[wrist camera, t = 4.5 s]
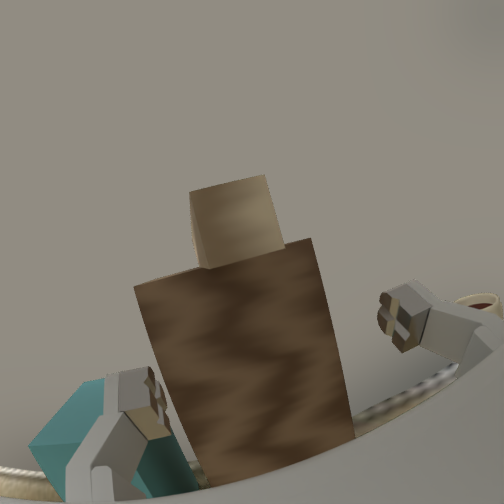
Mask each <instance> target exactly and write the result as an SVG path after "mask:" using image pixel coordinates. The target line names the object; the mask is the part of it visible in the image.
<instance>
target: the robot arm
mask: <svg viewBox="0 0 504 504" xmlns="http://www.w3.org/2000/svg"><path fill="white" fill-rule="evenodd" d="M379 301H380V303H381V304H382V306H381V307H380V309H379V310H378V315H377V320H378V324H379V326H380V328H381V330H382V331H383V332H384V333H385V334H386V335H389V336H392V343H393V344H394V345H395V346H396V347H397V348H398V349H399V351H401V353H404V352H406V351H408V350H410V349H412V348H414V347H416V346H418V345H420V346H421V347H423V348H425V349H428V350H430V351H432V352H434V353H436V354H438V355H441V356H443V357H445V358H447V359H450V360H452V361H454V362H456V363H458V364H459V366H458V368H457V370H456V372H455V377H456V378H457V380H455V381H454V382H452V383H451V384H450V385H448V386H447V387H445V388H444V389H442V390H441V391H439V392H438V393H436V394H435V395H433V396H431V397H430V398H428V399H427V400H425V401H423V402H422V403H420V404H419V405H417V406H415V407H414V408H412V409H410V410H408V411H407V412H405V413H403V414H402V415H400V416H398V417H396V418H394V419H393V420H391V421H389V422H387V423H385V424H383V425H381V426H379V427H377V428H376V429H374V430H372V431H370V432H368V433H366V434H364V435H361V436H359V437H357V438H355V439H353V440H351V441H349V442H347V443H344V444H342V445H340V446H338V447H335V448H333V449H331V450H328V451H326V452H323V453H321V454H319V455H316V456H314V457H311V458H308V459H306V460H303V461H300V462H298V463H295V464H292V465H289V466H287V467H284V468H281V469H278V470H275V471H272V472H268V473H265V474H262V475H259V476H255V477H252V478H248V479H245V480H241V481H237V482H233V483H230V484H226V485H221V486H217V487H213V488H208V489H203V490H198V491H193V492H188V493H182V494H176V495H170V496H163V497H156V498H148V499H146V494H144V493H143V492H142V491H140V490H139V489H138V488H136V487H135V486H133V485H132V484H131V481H132V479H133V476H134V474H135V472H136V469H137V467H138V464H139V462H140V460H141V457H142V455H143V453H144V450H145V448H146V446H147V443H148V441H147V440H152V439H157V438H161V437H166V436H170V435H172V434H171V428H170V423H169V418H168V416H167V415H166V413H165V411H166V409H167V402H166V398H165V395H164V391H163V389H162V386H161V385H160V383H159V382H158V381H156V380H155V376H154V372H153V370H152V369H151V367H149V366H148V367H143V368H138V369H133V370H128V371H122V372H118V373H113V374H107V375H106V377H105V382H104V408H103V415H101V416H99V417H98V419H97V420H96V422H95V423H94V425H93V426H92V428H91V429H90V431H89V432H88V434H87V435H86V437H85V438H84V440H83V441H82V443H81V444H80V446H79V447H78V449H77V451H76V452H75V454H74V455H73V457H72V458H71V460H70V461H69V463H68V464H67V466H66V482H65V489H66V502H49V501H35V500H25V499H16V498H9V497H2V496H0V504H504V321H503V320H502V319H501V318H500V317H498V316H497V315H496V314H493V313H490V312H486V311H483V310H479V309H475V308H472V307H468V306H464V305H461V304H457V303H453V302H450V301H446V300H445V301H441V300H440V299H439V298H438V297H437V296H436V295H434V294H433V293H432V292H431V291H430V290H429V289H427V288H426V287H425V286H423V284H421V283H420V282H419V281H417V280H414V279H413V280H411V281H409V282H406V283H404V284H402V285H399V286H397V287H395V288H392V289H390V290H387V291H385V292H382V294H381V296H380V300H379Z"/></svg>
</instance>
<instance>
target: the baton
mask: <svg viewBox="0 0 504 504" xmlns="http://www.w3.org/2000/svg"><path fill="white" fill-rule="evenodd" d="M189 194H190V214H191V229H192V242H193V245H194V249H195V253H196V257H197V260H198V264H199V267H202V268H206V269H213V268H216V267H220V266H223V265H227V264H231V263H234V262H238V261H241V260H245V259H249V258H252V257H256V256H259V255H263V254H266V253H270V252H274V251H277V250H281V249H284V248H285V245H284V242H283V238H282V234H281V231H280V227H279V224H278V220H277V217H276V213H275V209H274V206H273V202H272V199H271V195H270V192H269V188H268V185H267V181H266V178H265V175H259V176H255V177H250V178H246V179H241V180H237V181H232V182H228V183H224V184H220V185H216V186H211V187H208V188H203V189H200V190H195V191H191V192H189Z"/></svg>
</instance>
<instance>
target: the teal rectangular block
mask: <svg viewBox="0 0 504 504" xmlns="http://www.w3.org/2000/svg"><path fill="white" fill-rule="evenodd" d="M104 382H105V378H103V379H98V380H93V381H88V382H84V383H83V384H82V385H81V386H80V387H79V388H78V390H77V391H76V392H75V393H74V394H73V395H72V396H71V397H70V398H69V399H68V401H67V402H66V403H65V404H64V405H63V406H62V407H61V409H60V410H59V411H58V412H57V413H56V414H55V415H54V416H53V418H52V419H51V420H50V421H49V422H48V423H47V424H46V426H45V427H44V428H43V429H42V430H41V431H40V432H39V434H38V435H37V436H36V437H35V438H34V440H33V441H32V442H31V443H30V444H29V445H28V447H29V449H30V450H31V452H32V454H33V456H34V457H35V459H36V461H37V462H38V464H39V466H40V467H41V469H42V470H43V472H44V474H45V475H46V477H47V478H48V480H49V481H50V483H51V484H52V486H53V487H54V489H55V490H56V492H57V493H58V495H59V496H60V497H61V499H62V500H63V501H64V502H66V489H65V482H66V466H67V464H68V463H69V461H70V460H71V458H72V457H73V455H74V454H75V452H76V451H77V449H78V447H79V446H80V444H81V443H82V441H83V440H84V438H85V437H86V435H87V434H88V432H89V431H90V429H91V428H92V426H93V425H94V423H95V422H96V420H97V419H98V417H99V416H101V415H103V408H104ZM170 428H171V426H170ZM171 434H172V435H170V436H166V437H161V438H157V439H152V440H147V441H148V443H147V446H146V448H145V450H144V453H143V455H142V457H141V460H140V462H139V464H138V467H137V469H136V472H135V474H134V476H133V479H132V481H131V484H132V485H133V486H135V487H136V488H138V489H139V490H140V491H142V492H143V493H144V494H146V499H148V498H156V497H163V496H170V495H176V494H182V493H188V492H193V491H198V490H199V486H198V482H197V480H196V478H195V476H194V474H193V472H192V470H191V468H190V466H189V464H188V462H187V460H186V458H185V456H184V454H183V452H182V450H181V448H180V446H179V444H178V442H177V439H176V437H175V435H174V433H173V431H172V428H171Z"/></svg>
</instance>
